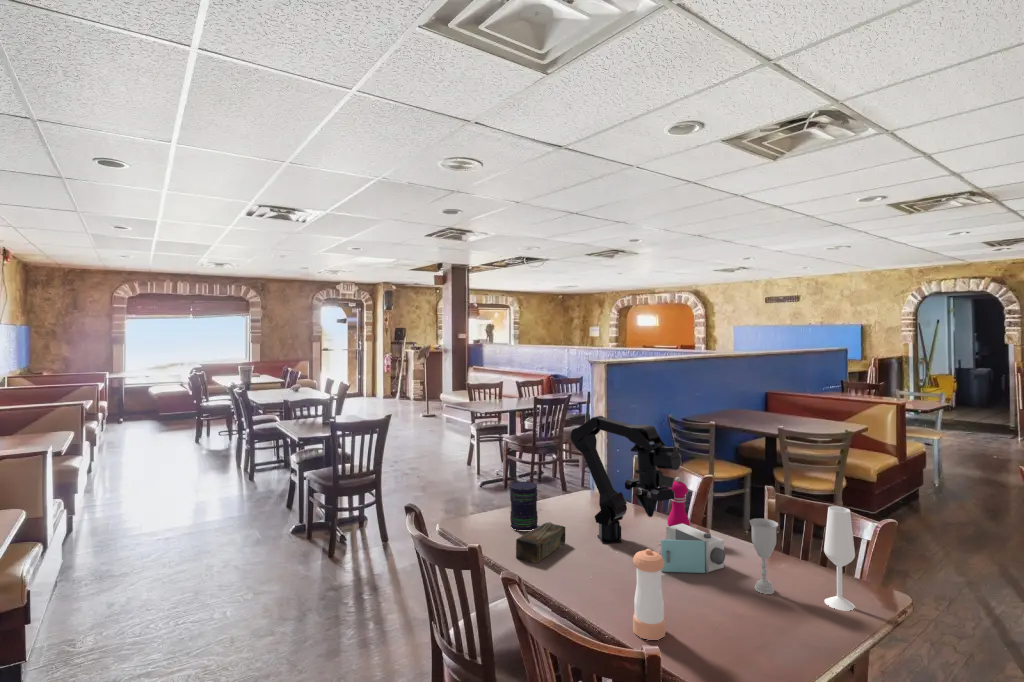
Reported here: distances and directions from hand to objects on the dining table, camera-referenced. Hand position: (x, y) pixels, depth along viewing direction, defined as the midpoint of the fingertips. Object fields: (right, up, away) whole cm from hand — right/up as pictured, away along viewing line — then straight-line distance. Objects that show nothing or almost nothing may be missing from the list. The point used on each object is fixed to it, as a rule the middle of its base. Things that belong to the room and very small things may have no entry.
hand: (650, 516), depth 168 cm
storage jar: (-39, -12, +24) cm, 48 cm away
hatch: (+6, -11, -14) cm, 19 cm away
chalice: (+24, -12, -25) cm, 36 cm away
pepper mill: (+13, -11, +14) cm, 22 cm away
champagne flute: (+39, -12, -33) cm, 52 cm away
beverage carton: (-34, -12, +3) cm, 36 cm away
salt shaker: (-12, -12, -44) cm, 47 cm away
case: (+12, -11, -5) cm, 17 cm away
